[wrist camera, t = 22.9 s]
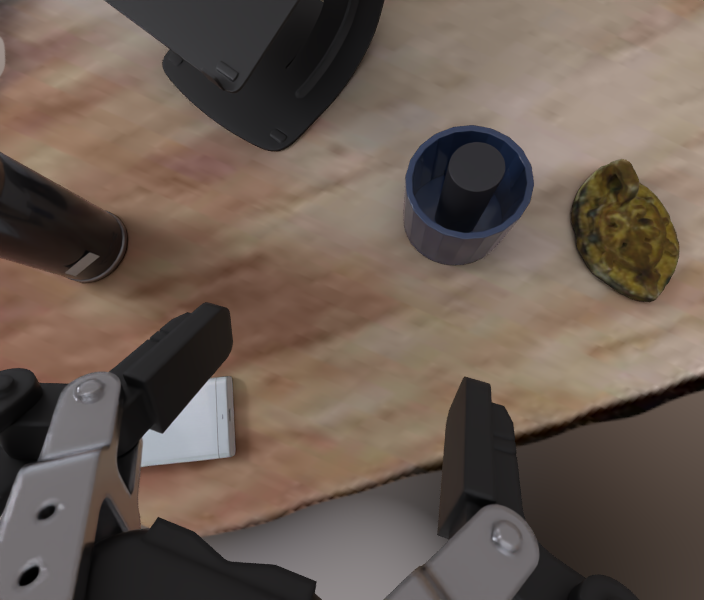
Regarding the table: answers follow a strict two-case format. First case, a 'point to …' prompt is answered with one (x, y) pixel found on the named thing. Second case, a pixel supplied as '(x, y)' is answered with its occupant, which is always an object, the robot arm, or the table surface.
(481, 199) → the canister
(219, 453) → the hard drive
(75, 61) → the table surface
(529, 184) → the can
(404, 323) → the table surface
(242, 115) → the laptop stand
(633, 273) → the bronze pendant
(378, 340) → the table surface
